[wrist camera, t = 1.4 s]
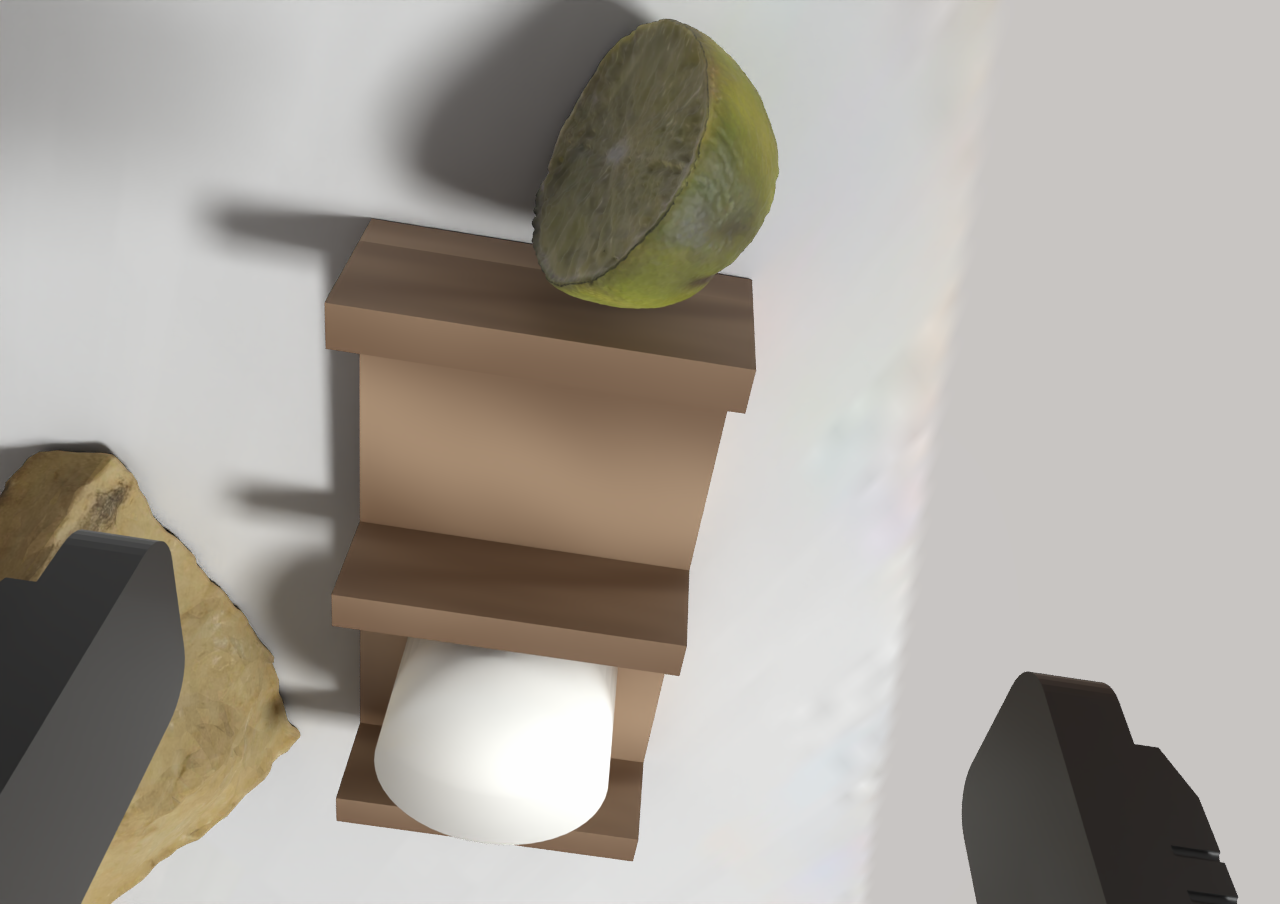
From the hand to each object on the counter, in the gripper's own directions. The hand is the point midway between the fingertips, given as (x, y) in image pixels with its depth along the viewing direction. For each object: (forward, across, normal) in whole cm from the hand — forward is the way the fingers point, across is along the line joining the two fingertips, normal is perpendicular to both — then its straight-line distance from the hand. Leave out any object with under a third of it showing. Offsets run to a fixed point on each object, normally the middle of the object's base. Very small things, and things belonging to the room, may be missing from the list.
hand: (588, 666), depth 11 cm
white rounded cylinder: (+13, +2, +15) cm, 20 cm away
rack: (+14, +2, +11) cm, 18 cm away
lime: (+14, 0, 0) cm, 14 cm away
